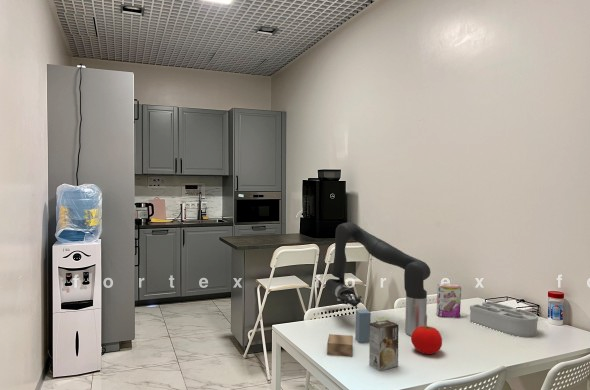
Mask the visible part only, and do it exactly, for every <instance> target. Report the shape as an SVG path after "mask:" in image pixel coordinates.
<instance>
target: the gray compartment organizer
mask: <svg viewBox="0 0 590 390" xmlns="http://www.w3.org/2000/svg"><path fill="white" fill-rule="evenodd" d="M469 310H470V315H469V316H470V317H469V321H470V323H471V322H473V323H472V324H474V323H476V324H475V325H477V324H479V325H478V326H480V325H482V326H481V327H483V326H485V327H484V328H486V327H488V328H487V329H489V328H491V329H490V330H493V329H494V330H493V331H496V330H497V331H496V332H499V331H500V333H502V332H503V333H502V334H505V333H506V335H508V334H510V335H509V336H512V335H513V336H512V337H517V336H519V337H518V338H533V336H534V337H535V335H536V336H537V333H538V320H539V317H538V315H537V314H536V313H534V312H531V311H528V310H524V309H521V308H517V307H512V306H509V305H506V304H501V303H497V302H493V301H490V300H488V301H485V302H482V304H472V305H470V306H469Z"/></svg>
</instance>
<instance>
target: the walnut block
mask: <svg viewBox="0 0 590 390" xmlns="http://www.w3.org/2000/svg"><path fill="white" fill-rule="evenodd" d="M327 338H328V339H327V344H326V345H327V347H326V348H327V349H326V350H327V351H326V355H328V356H342V357H353V348H354V347H353V346H354V345H353V342H354V340H353V339H354V335H348V334H347V335H346V334H332V333H331V334H330V333H329V334H328V337H327Z"/></svg>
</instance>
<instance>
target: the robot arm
mask: <svg viewBox="0 0 590 390" xmlns="http://www.w3.org/2000/svg"><path fill="white" fill-rule="evenodd" d="M334 238H335V241H334V257H333V263H332V268H331V275H332V276H333V277H335V278H329V279H328V278H327V280H326V281H325V284H324V285H325V286H324V287H325V290H326V291H327V292H328V293H329V294H332V295H335V297H336V302H337V303H338V304H339V303H340V304H343V305H350V306H352V307H357V306H358V305H359V304H361V302H362V301H363V300H362V299H363V296H362V295H359V296H357V295H355V294H354V292H353V290H352V289H351V288H349V287H348V286H346V282H345V281H346V280H345V275H346V267H347V265H348V264H347V263H348V261H347V256H346V247H347V243H348V241H351V240H352V241H355V242H356V243H359V244H360V245H362V246H363V247H364V248H365V250H366V251H367V253H368V254H369V255H370V256H371V257H373V258H375V259H377V260H379V261H380V262H382V263H385V264H389V265H392V266H396V267H399V268H401V269H403V270H404V271H403V272H404V273H403V278H404V280H403V282H404V284H403V285H404V290H405V319H404V320H405V321H404V322H405V324H404V325H405V332H404V333H405V334H406V335H408V336H410V337H411V335H412V333H413V331H414V330H415V329H416V328H418V327H420V326H428V314H427V304H428V299H427V298H428V292H427V290H426V289H425V288H424V287H425V286H424V285H425V284H424V281H425V280H427V279H428V278H429V277H430V275H431V268H430V266H429V265H428V264H427V263H426V262H425V261H423V260H420V259H419V258H416V257H413V256H412V255H409V254H407V253H405V252H404V251H402V250H400V249H398V248H396V247H395V246H393V245H391V244H390V243H388V242H386V241H384V240H383V239H380V238H378V237H377V236H375V235H373V234H371V233H369V232H367V231H366V230H364V228H362V227H361V226H359V225H358V224H356V223H355V222H352V221H351V222H350V221H347V222H343V223H341V224H338V225H337V227H336V228H335V237H334Z"/></svg>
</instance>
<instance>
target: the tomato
mask: <svg viewBox="0 0 590 390" xmlns="http://www.w3.org/2000/svg"><path fill="white" fill-rule="evenodd" d="M410 341H411V343H412V346H413V347H414V348H415V349H416V350H417V351H418V352H420V353H421V354H425V355H426V354H427V355H432V354H436V353H437V352H439V351H440V350H441V348H442V346H443V337H442V334H441V332H440V331H439V330H438V329H437V328H435V327H432V326H428V325H427V326H420V327H418V328H416V329H415V330H414V331H413V333H412V335H411V336H410Z"/></svg>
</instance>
